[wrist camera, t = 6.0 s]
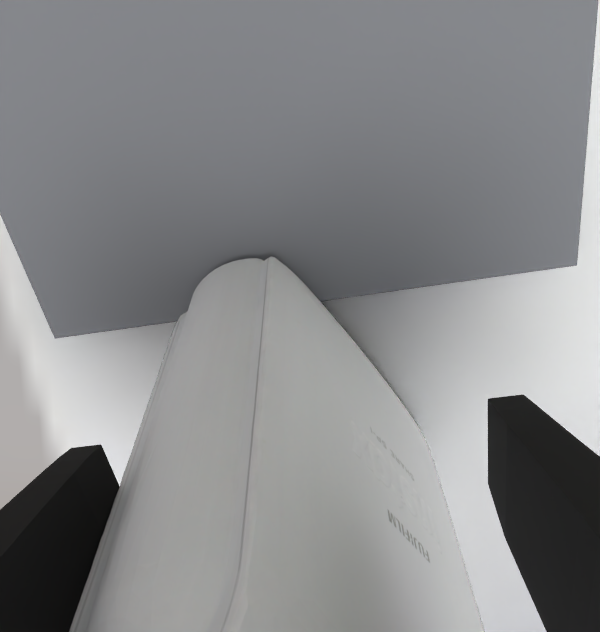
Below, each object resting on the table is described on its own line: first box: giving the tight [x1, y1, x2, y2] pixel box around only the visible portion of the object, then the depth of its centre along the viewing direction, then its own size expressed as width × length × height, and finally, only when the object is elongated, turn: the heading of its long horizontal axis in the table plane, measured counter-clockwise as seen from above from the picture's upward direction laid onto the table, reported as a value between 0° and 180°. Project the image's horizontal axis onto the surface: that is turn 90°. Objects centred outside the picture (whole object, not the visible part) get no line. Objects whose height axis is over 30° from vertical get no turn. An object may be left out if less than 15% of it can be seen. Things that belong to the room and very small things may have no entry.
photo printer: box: [69, 257, 485, 632], centre depth 12 cm, size 10×4×12 cm, turn 35°
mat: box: [0, 0, 598, 338], centre depth 13 cm, size 12×16×1 cm
